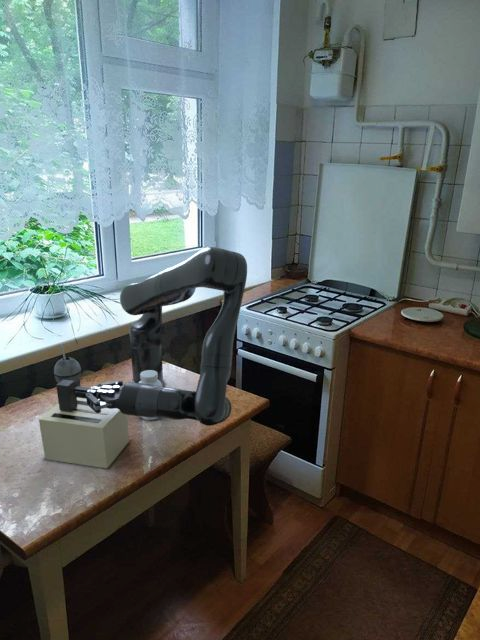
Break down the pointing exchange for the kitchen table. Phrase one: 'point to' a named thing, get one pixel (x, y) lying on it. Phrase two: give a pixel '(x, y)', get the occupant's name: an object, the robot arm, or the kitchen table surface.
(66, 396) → the slider
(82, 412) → the toaster
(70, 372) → the beverage cup
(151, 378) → the supplement bottle
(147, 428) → the kitchen table surface
